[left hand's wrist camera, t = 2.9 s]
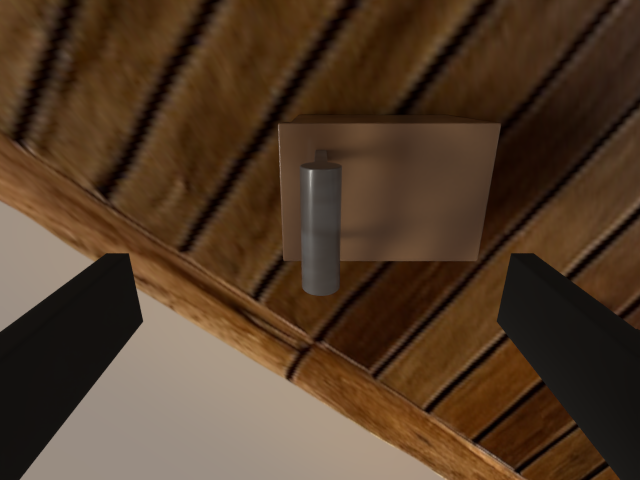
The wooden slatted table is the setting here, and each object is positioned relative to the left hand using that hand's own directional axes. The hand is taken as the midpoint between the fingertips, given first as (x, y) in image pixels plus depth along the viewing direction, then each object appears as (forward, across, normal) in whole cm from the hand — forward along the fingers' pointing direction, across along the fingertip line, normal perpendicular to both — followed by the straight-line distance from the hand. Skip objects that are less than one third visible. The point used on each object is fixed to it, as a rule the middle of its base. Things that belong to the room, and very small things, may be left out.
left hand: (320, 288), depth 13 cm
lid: (+13, +4, 0) cm, 14 cm away
